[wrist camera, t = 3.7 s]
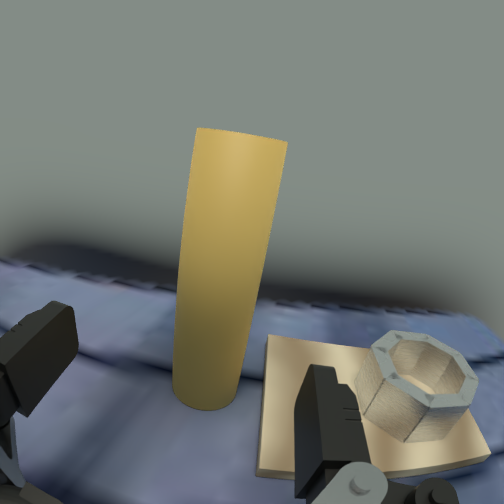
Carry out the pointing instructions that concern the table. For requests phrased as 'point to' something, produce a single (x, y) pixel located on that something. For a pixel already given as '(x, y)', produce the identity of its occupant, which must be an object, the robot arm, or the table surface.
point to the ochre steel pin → (222, 260)
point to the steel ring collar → (407, 394)
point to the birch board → (379, 442)
